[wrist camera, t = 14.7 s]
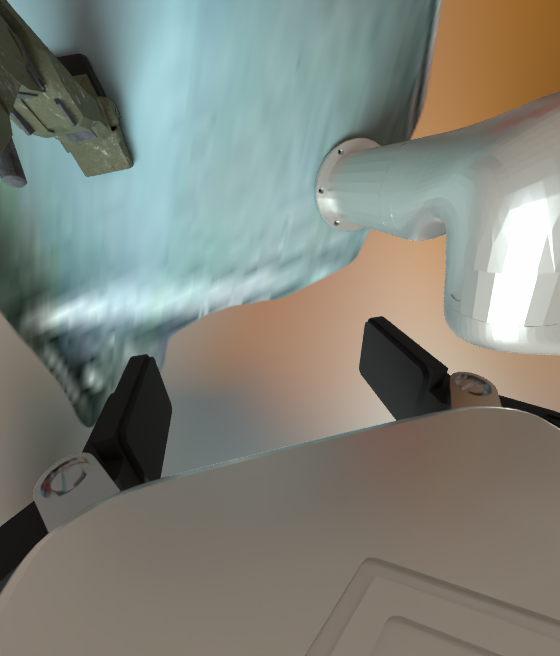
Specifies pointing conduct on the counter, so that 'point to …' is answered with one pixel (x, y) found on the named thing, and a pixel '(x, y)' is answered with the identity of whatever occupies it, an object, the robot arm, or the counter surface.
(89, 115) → the mechanical leg
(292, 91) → the counter surface
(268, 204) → the counter surface
